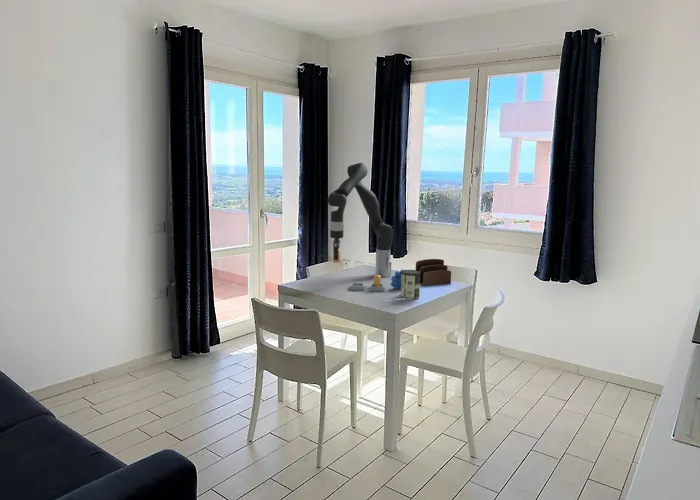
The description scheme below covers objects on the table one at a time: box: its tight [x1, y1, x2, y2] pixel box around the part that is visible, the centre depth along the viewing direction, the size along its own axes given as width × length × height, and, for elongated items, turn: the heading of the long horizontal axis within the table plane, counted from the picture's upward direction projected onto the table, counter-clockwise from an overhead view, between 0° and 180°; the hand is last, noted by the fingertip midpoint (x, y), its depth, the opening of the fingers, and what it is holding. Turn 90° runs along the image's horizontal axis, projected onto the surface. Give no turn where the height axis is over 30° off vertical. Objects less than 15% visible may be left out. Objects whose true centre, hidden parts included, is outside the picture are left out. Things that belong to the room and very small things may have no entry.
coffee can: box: [400, 269, 421, 300], centre depth 278 cm, size 10×10×14 cm
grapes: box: [390, 269, 404, 290], centre depth 292 cm, size 12×7×12 cm, turn 109°
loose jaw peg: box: [332, 247, 341, 263], centre depth 292 cm, size 4×4×8 cm
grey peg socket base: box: [348, 282, 386, 293], centre depth 289 cm, size 20×11×4 cm, turn 86°
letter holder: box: [415, 258, 452, 286], centre depth 312 cm, size 10×20×14 cm, turn 112°
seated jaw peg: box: [373, 274, 382, 287], centre depth 288 cm, size 4×4×8 cm
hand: (336, 258), depth 293 cm, fingers closed on loose jaw peg, 4 cm apart
